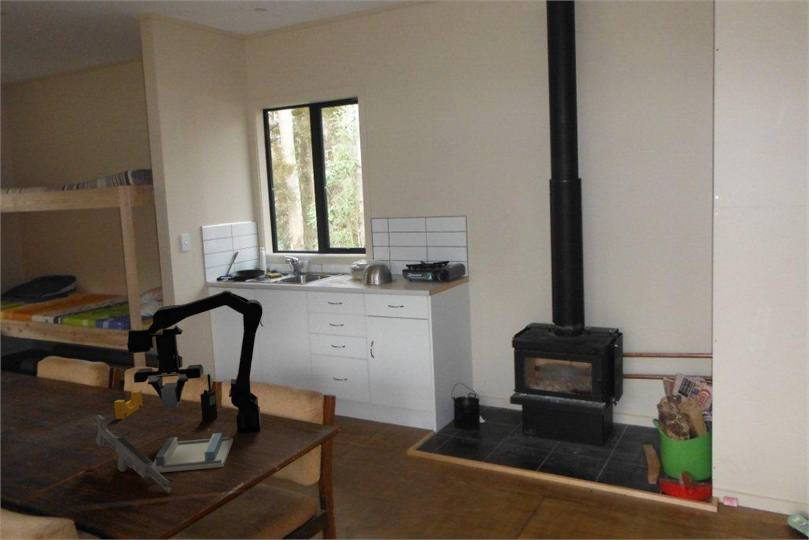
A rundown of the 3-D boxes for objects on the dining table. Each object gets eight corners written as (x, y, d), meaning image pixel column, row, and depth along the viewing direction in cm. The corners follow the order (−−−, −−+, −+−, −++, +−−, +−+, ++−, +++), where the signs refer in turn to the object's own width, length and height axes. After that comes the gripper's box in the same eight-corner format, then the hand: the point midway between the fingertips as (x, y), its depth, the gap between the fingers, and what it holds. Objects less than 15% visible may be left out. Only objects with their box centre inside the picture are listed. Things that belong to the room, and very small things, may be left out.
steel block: (181, 401, 197) (179, 382, 196) (176, 407, 191) (174, 387, 190) (167, 402, 197) (165, 383, 196) (162, 408, 191) (160, 388, 190)
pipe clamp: (131, 408, 226) (129, 390, 226) (143, 408, 226) (141, 390, 225) (111, 420, 215) (109, 401, 214) (123, 421, 214) (121, 401, 213)
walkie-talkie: (210, 423, 207) (206, 377, 206) (201, 422, 208) (197, 376, 207) (218, 418, 212) (215, 373, 210) (210, 417, 213) (206, 372, 211)
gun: (176, 510, 161) (178, 475, 159) (163, 515, 159) (165, 480, 156) (105, 444, 183) (106, 412, 180) (92, 448, 180) (93, 416, 177)
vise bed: (232, 441, 191) (231, 430, 190) (223, 466, 173) (222, 454, 172) (165, 447, 188) (164, 435, 188) (148, 473, 171) (147, 460, 170)
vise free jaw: (222, 441, 188) (222, 432, 188) (214, 460, 174) (213, 451, 174) (213, 442, 188) (213, 433, 188) (205, 461, 174) (204, 452, 174)
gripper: (204, 341, 201) (208, 391, 203) (141, 346, 199) (146, 396, 201) (197, 350, 190) (202, 402, 192) (130, 354, 188) (136, 407, 190)
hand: (171, 401), depth 194 cm, fingers closed on steel block, 4 cm apart
